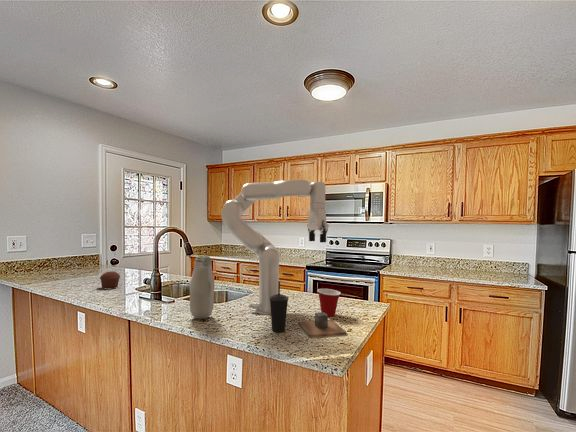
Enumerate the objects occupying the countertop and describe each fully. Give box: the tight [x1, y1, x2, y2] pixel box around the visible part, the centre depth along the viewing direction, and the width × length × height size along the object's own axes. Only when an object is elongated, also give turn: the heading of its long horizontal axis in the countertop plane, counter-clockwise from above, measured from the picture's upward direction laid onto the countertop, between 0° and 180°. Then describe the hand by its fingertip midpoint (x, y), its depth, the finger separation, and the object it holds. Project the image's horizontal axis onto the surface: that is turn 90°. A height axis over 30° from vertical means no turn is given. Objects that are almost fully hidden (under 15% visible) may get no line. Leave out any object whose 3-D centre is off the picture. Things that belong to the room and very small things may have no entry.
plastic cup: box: [317, 288, 341, 318], centre depth 138 cm, size 11×11×12 cm
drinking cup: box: [269, 280, 289, 334], centre depth 117 cm, size 8×8×20 cm
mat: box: [296, 323, 349, 339], centre depth 119 cm, size 16×16×1 cm
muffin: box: [99, 270, 121, 289], centre depth 191 cm, size 12×11×10 cm
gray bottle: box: [189, 254, 215, 320], centre depth 133 cm, size 10×10×28 cm
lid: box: [297, 311, 348, 339], centre depth 119 cm, size 15×15×6 cm
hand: (317, 241), depth 146 cm, fingers open, 9 cm apart
